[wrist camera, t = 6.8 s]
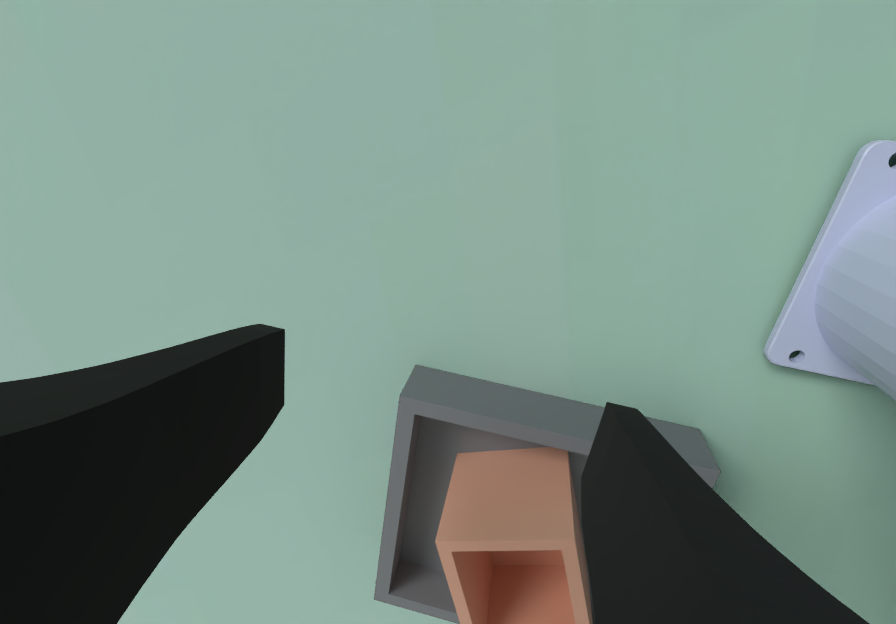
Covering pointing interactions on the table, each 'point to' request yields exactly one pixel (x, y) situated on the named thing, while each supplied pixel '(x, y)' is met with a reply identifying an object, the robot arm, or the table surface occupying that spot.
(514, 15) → the table surface
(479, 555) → the small crate
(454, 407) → the big crate
